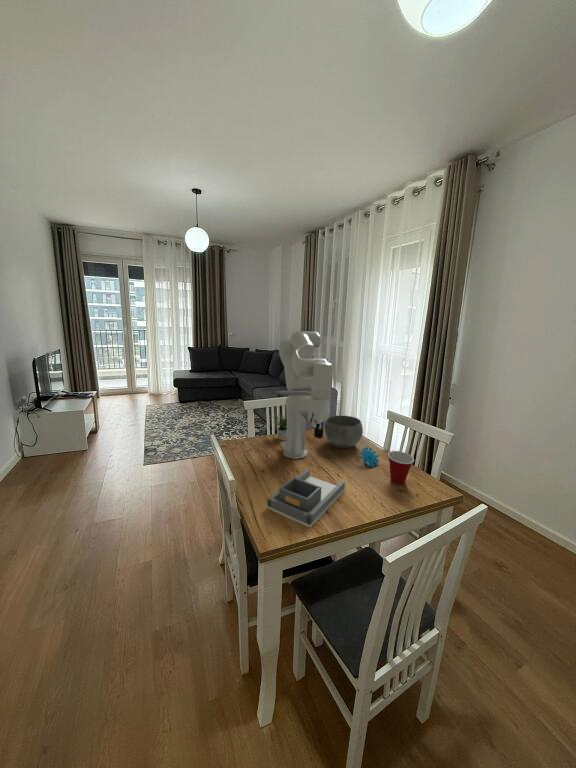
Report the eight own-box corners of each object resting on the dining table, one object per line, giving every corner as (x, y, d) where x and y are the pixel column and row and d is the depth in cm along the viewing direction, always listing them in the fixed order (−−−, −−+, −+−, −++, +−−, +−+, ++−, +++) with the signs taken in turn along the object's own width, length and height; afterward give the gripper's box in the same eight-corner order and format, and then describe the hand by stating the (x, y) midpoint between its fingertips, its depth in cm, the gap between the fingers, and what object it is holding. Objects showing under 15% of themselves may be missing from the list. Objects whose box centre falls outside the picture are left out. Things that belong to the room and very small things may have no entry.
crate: (278, 505, 112) (278, 488, 111) (293, 492, 121) (294, 477, 119) (306, 517, 106) (306, 500, 104) (320, 503, 114) (321, 487, 113)
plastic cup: (405, 491, 126) (408, 464, 123) (380, 481, 133) (383, 455, 131) (415, 481, 133) (418, 456, 131) (392, 472, 141) (394, 448, 138)
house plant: (264, 440, 174) (264, 413, 170) (274, 432, 186) (274, 406, 183) (287, 445, 169) (288, 416, 165) (296, 436, 181) (297, 410, 178)
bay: (267, 508, 112) (267, 498, 111) (306, 477, 135) (307, 468, 134) (309, 527, 102) (310, 517, 101) (344, 490, 125) (345, 481, 124)
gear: (365, 466, 142) (359, 446, 148) (358, 471, 147) (352, 451, 152) (384, 465, 147) (377, 446, 152) (376, 469, 151) (370, 450, 157)
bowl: (342, 435, 184) (344, 412, 181) (369, 447, 167) (371, 421, 164) (316, 442, 172) (317, 417, 169) (341, 456, 156) (343, 428, 153)
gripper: (321, 388, 127) (319, 429, 132) (302, 395, 115) (300, 440, 120) (338, 391, 123) (335, 433, 127) (320, 399, 111) (317, 446, 115)
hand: (318, 437), depth 123 cm, fingers closed
